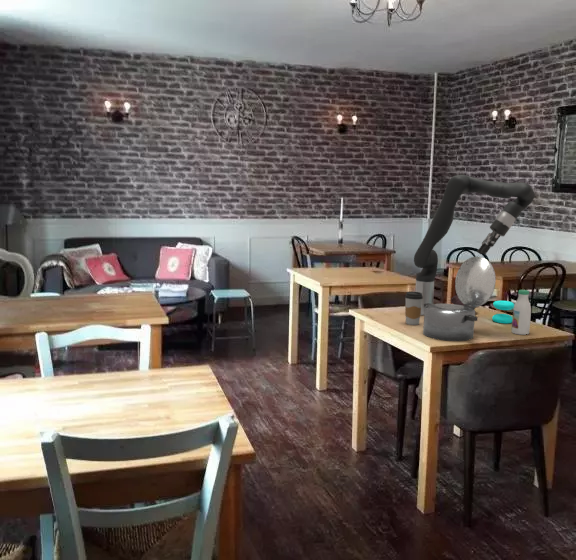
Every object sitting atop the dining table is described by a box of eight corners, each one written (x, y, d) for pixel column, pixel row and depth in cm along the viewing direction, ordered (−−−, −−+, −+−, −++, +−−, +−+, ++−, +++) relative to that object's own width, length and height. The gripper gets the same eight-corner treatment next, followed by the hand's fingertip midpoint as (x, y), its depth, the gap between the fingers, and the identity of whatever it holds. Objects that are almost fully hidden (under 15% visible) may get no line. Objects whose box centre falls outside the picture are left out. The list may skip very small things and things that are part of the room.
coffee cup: (420, 322, 315) (422, 291, 313) (422, 326, 307) (423, 295, 305) (402, 321, 316) (404, 291, 314) (404, 325, 308) (406, 294, 305)
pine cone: (445, 309, 347) (446, 290, 345) (457, 307, 352) (459, 289, 350) (471, 315, 332) (472, 296, 330) (484, 313, 338) (485, 294, 336)
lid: (487, 312, 286) (492, 313, 288) (498, 260, 284) (503, 261, 286) (450, 303, 306) (455, 303, 307) (460, 253, 304) (465, 254, 305)
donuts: (504, 299, 325) (519, 303, 316) (503, 318, 327) (517, 323, 318) (489, 300, 321) (503, 304, 312) (487, 320, 323) (501, 324, 314)
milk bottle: (528, 332, 301) (532, 289, 297) (529, 335, 293) (533, 292, 290) (511, 330, 303) (514, 288, 300) (511, 334, 296) (514, 291, 293)
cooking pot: (491, 340, 284) (493, 313, 282) (454, 345, 273) (455, 318, 271) (442, 324, 311) (444, 300, 309) (406, 329, 300) (408, 304, 298)
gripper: (492, 219, 297) (471, 248, 299) (499, 218, 283) (477, 248, 285) (505, 228, 297) (484, 257, 299) (513, 227, 283) (491, 258, 285)
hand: (481, 253), depth 292 cm, fingers open, 8 cm apart
